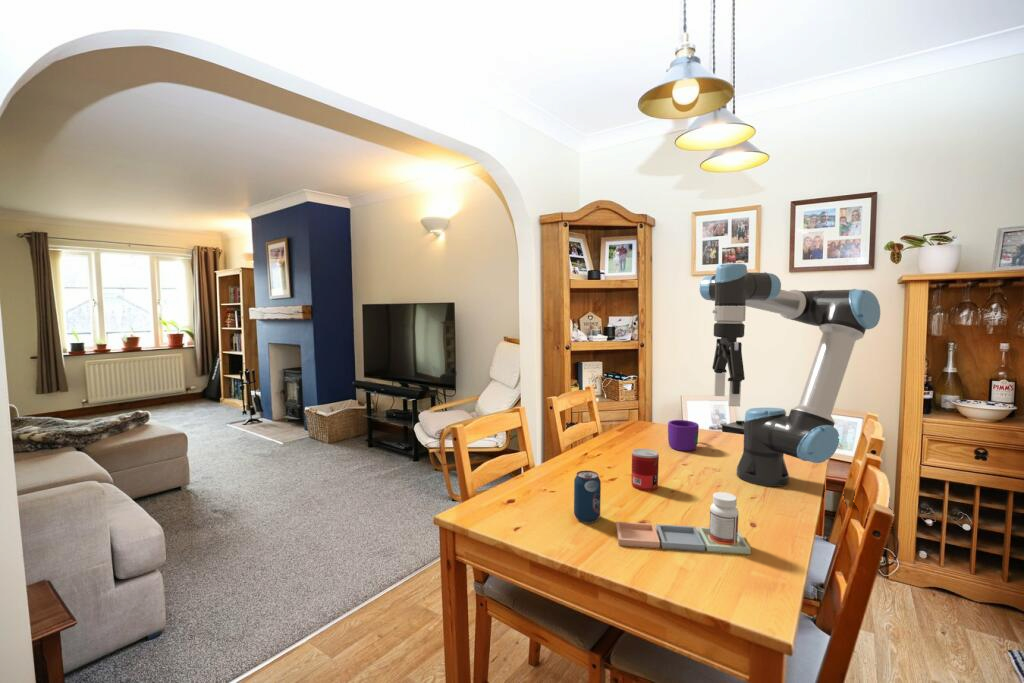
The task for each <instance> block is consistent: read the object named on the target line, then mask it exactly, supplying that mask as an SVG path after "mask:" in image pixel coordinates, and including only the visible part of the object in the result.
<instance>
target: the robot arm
mask: <svg viewBox="0 0 1024 683" xmlns="http://www.w3.org/2000/svg"><path fill="white" fill-rule="evenodd" d="M747 268H748V266H747V265H746V264H744V263H724V264H719V265H718V266H716V272H715V274H713V275H707V276H706V277H704V278H702V279H701V282H700V285H699V293H700V296H701V297H702V299H704V300H706V301H713V302H714V309H713V310H712V314H713V315H714V321H715V323H714V324H713V337H715V338H716V345H715V352H714V358H713V363H712V367H711V368H712V370H713V371H714V384H713V389H714V390H713V396H714V397H725V396H726V395H725V394H726V373H727V369H728V373H729V377H728V379H727V382H728V396H727V397H728V399H727V400H728V402H727V406H728V407H738V408H739V407H741V394H742V393H741V391H742V389H741V388H742V381H745V370H744V360H743V351H742V347H743V344H742V342H741V341H738V342H737V340H738V339H739V338H740V339H741V338H743V337H745V326H746V325H745V324H744V322H745V321H746V311H747V310H746V308H747V307H748V308H752V309H757V310H762V311H764V312H765V311H766V312H770V313H774V314H779V315H780V316H781V317H782V318H785V319H786V320H791V321H796V322H799V323H802V324H805V325H810V326H814V327H818V328H819V330H820V331H821V334H822V335H821V338H820V341H819V345H818V347H817V350H816V353H815V355H814V359H813V362H812V364H811V368H810V370H809V373H808V377H807V379H806V382H805V385H804V388H803V392H802V395H801V396H800V400H799V403H798V405H797V406H795V407H792V408H791V409H790V412H789V415H787V411H786V410H785V409H784V408H780V407H753V408H749V409H747V410H746V411H745V414H744V421H743V450H742V454H741V457H740V459H739V462H738V463H737V464H738V465H737V467H736V476H737V478H740V479H741V480H742V481H745V482H747V483H751V484H755V485H760V486H764V487H782V486H785V485H787V484H789V482H790V480H789V479H790V475H789V471H788V467H787V465H786V460H785V458H784V455H786V456H790V457H793V458H796V459H798V460H801V461H804V462H809V463H814V464H821V463H824V462H826V461H828V460H830V459H831V458H832V457H833V456H834V454H835V452H836V451H837V450H838V446H839V442H840V438H839V436H840V434H839V431H838V430H837V428H836V427H834V426H835V424H836V422H835V420H834V418H833V417H832V413H833V410H834V407H835V404H836V402H837V398H838V396H839V392H840V389H841V386H842V383H843V380H844V377H845V375H846V371H847V368H848V365H849V361H850V359H851V355H852V352H853V350H854V346H855V344H856V342H857V341H859V340H861V339H863V338H864V336H865V334H866V331H867V330H872V329H874V328H876V326H878V324H879V322H880V319H881V306H880V303H879V299H878V298H877V295H875V294H874V293H873V292H872V291H870V290H868V289H856V288H853V289H828V290H827V289H826V290H825V289H820V290H799V289H798V290H797V289H790V290H786V289H781V288H782V282H781V279H780V278H779V276H777V275H776V274H774V273H769V272H765V271H764V272H748V269H747ZM726 367H727V369H726Z"/></svg>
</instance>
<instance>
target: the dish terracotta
mask: <svg viewBox="0 0 1024 683" xmlns="http://www.w3.org/2000/svg"><path fill="white" fill-rule="evenodd" d="M655 526H656V525H655V524H654V523H644V522H630V521H627V522H626V521H615V530H616V536H617V542H618V543H617V544H618V546H619V547H621V546H622V547H633V548H634V547H636V548H647V549H648V548H649V549H660V548H661V543H660V540H659V536H658V533H657V530H656V527H655Z"/></svg>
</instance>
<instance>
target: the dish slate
mask: <svg viewBox="0 0 1024 683" xmlns="http://www.w3.org/2000/svg"><path fill="white" fill-rule="evenodd" d="M655 526H656V527H655V528H656V532H657V535H658V538H659V541H660V547H661V549H664V550H675V551H676V550H679V551H691V552H692V551H693V552H705V550H706V548H705V545H704V543H703V541H702V539H701V537H700V535H699V533H698V528H697V527H696V526H689V525H675V524H661V523H656V525H655Z"/></svg>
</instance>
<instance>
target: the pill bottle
mask: <svg viewBox="0 0 1024 683" xmlns="http://www.w3.org/2000/svg"><path fill="white" fill-rule="evenodd" d="M737 501H738V500H737V496H735V495H734V494H732V493H730V492H725V491H717V492H714V493H713V495H712V504H711V505H710V509H709V528H710V533H709V538H710V541H711V542H712V543H714V544H715V545H728V546H736V545H737V539H738V531H739V509H738V508H737V504H738V503H737Z"/></svg>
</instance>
